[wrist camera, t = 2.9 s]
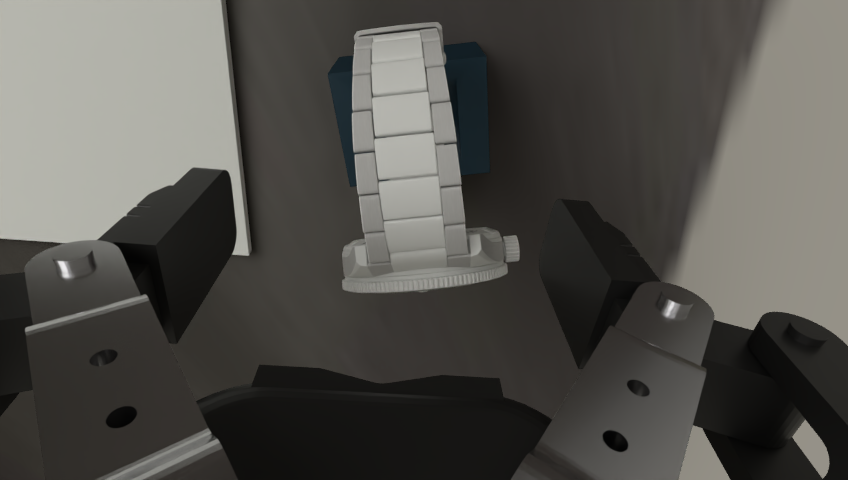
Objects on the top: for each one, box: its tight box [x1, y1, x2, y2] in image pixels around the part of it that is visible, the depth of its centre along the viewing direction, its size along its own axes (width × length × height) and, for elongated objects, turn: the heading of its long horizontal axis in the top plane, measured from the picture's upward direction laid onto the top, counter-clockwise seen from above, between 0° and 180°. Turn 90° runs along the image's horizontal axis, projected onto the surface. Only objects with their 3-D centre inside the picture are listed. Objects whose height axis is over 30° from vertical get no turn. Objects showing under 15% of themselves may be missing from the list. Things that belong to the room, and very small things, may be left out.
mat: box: [0, 0, 252, 256], centre depth 18 cm, size 18×14×1 cm
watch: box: [328, 22, 520, 293], centre depth 15 cm, size 6×8×11 cm
